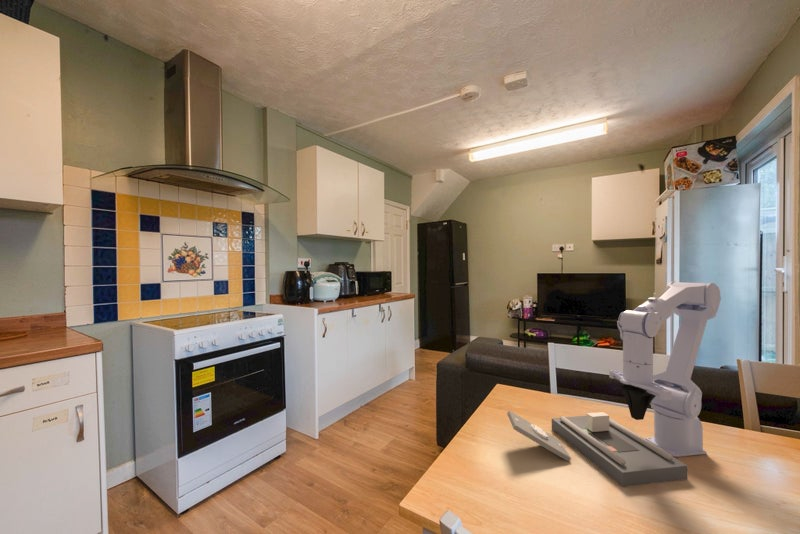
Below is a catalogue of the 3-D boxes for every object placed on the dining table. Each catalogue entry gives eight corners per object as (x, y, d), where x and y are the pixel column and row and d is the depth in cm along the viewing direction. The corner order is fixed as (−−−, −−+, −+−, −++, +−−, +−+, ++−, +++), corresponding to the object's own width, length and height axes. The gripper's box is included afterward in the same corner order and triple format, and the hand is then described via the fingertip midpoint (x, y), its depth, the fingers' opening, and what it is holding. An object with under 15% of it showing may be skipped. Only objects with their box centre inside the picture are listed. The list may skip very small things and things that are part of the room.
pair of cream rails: (600, 416, 90) (600, 412, 90) (673, 460, 70) (673, 454, 70) (558, 420, 88) (558, 415, 88) (620, 466, 68) (620, 459, 68)
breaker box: (601, 424, 92) (601, 414, 92) (687, 479, 68) (687, 465, 68) (551, 428, 90) (551, 418, 90) (622, 486, 66) (622, 472, 66)
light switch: (573, 455, 74) (517, 422, 76) (561, 476, 74) (505, 442, 76) (560, 436, 83) (510, 407, 84) (549, 455, 83) (499, 425, 85)
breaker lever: (603, 426, 84) (603, 411, 84) (609, 430, 82) (609, 415, 82) (586, 428, 83) (586, 413, 83) (592, 432, 81) (592, 416, 81)
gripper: (599, 353, 81) (598, 405, 81) (651, 371, 67) (651, 435, 66) (623, 352, 82) (622, 404, 82) (680, 370, 68) (679, 433, 67)
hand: (637, 418), depth 74 cm, fingers closed
